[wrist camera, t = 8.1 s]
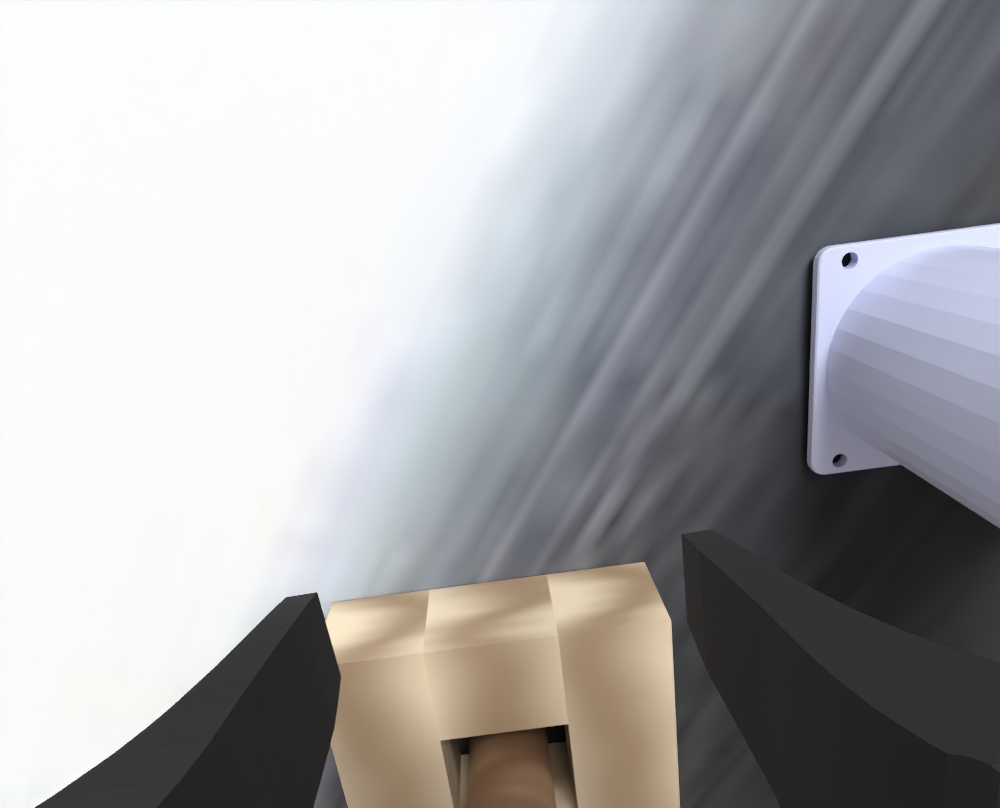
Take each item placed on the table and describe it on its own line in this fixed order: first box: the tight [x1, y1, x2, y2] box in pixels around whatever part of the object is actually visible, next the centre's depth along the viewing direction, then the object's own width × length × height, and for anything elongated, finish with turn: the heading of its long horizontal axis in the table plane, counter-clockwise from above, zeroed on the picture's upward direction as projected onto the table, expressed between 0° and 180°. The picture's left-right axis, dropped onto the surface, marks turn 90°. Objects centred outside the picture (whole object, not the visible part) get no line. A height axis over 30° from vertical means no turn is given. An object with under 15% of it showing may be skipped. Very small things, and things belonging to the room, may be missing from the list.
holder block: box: [326, 562, 680, 808], centre depth 25 cm, size 12×12×4 cm
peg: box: [468, 727, 556, 808], centre depth 22 cm, size 3×3×8 cm
